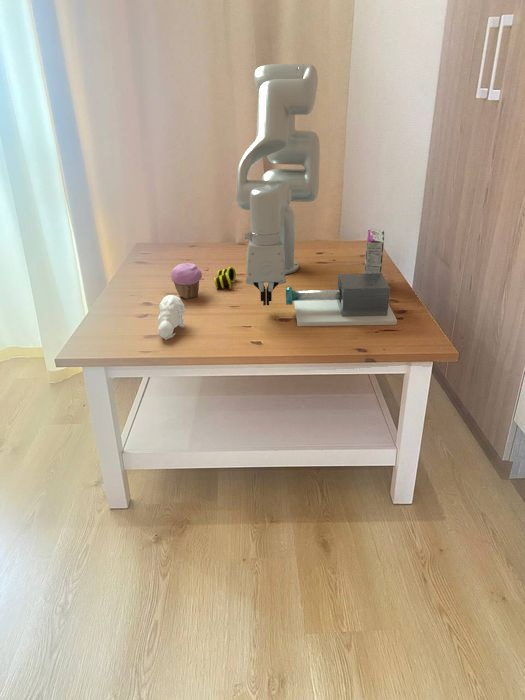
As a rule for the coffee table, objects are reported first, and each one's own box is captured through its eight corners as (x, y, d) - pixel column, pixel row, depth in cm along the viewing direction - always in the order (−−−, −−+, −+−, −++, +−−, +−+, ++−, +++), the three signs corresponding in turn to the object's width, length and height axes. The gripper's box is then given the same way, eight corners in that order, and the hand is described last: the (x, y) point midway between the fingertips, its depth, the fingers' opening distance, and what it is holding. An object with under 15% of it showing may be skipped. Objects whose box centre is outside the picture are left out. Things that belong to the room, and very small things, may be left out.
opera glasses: (221, 281, 172) (217, 266, 169) (237, 278, 170) (233, 264, 168) (215, 293, 163) (211, 278, 161) (232, 290, 162) (228, 275, 160)
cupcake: (208, 296, 159) (206, 263, 154) (185, 304, 154) (182, 271, 149) (190, 288, 165) (187, 256, 160) (167, 296, 159) (163, 264, 154)
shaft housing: (342, 316, 143) (343, 288, 139) (336, 300, 152) (338, 274, 148) (387, 315, 143) (390, 287, 139) (379, 300, 152) (382, 273, 148)
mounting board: (297, 326, 141) (297, 322, 140) (293, 301, 155) (293, 297, 154) (396, 324, 141) (397, 320, 140) (383, 299, 155) (384, 295, 154)
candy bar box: (363, 280, 168) (367, 229, 160) (379, 281, 167) (385, 229, 159) (361, 294, 158) (366, 240, 150) (379, 295, 158) (384, 241, 150)
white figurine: (184, 292, 139) (173, 316, 130) (187, 320, 144) (177, 345, 134) (160, 291, 140) (148, 315, 130) (164, 319, 145) (153, 344, 135)
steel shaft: (286, 307, 144) (286, 291, 142) (285, 300, 149) (285, 284, 146) (370, 306, 144) (372, 289, 142) (367, 299, 149) (368, 282, 146)
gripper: (235, 242, 134) (238, 309, 143) (295, 241, 134) (294, 308, 143) (236, 233, 141) (239, 298, 150) (293, 232, 141) (292, 297, 150)
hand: (266, 303), depth 146 cm, fingers closed
